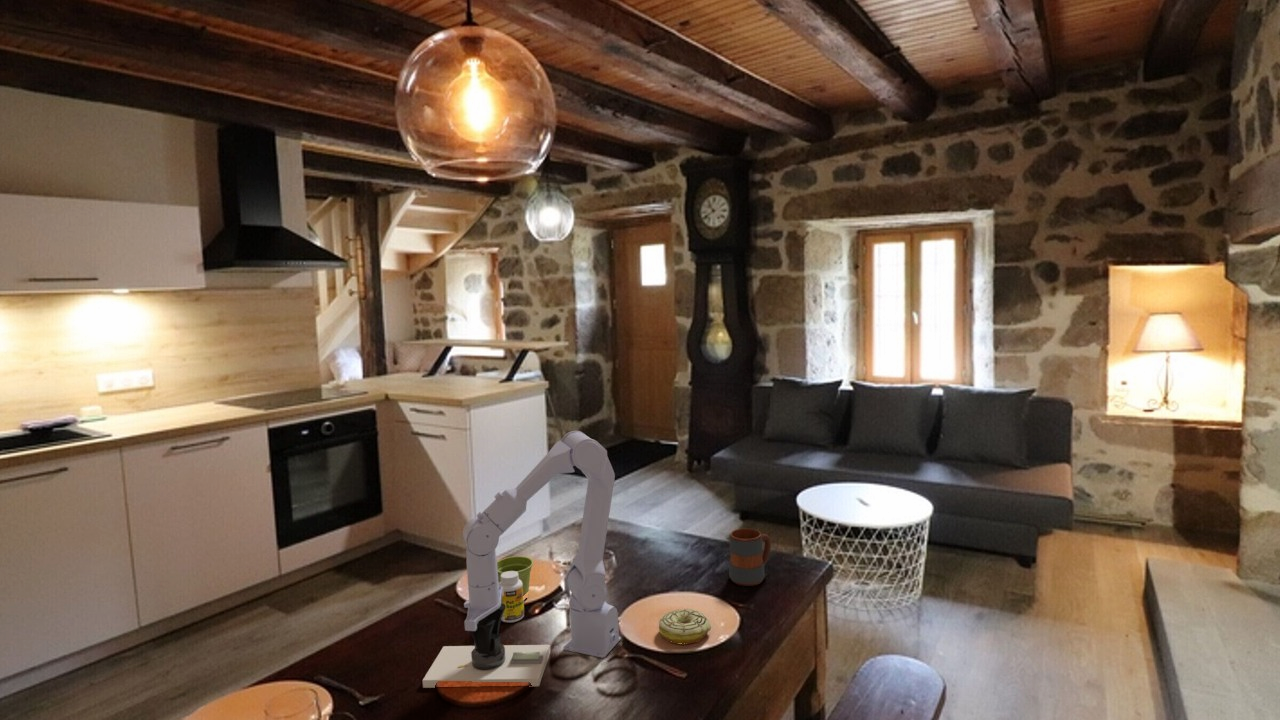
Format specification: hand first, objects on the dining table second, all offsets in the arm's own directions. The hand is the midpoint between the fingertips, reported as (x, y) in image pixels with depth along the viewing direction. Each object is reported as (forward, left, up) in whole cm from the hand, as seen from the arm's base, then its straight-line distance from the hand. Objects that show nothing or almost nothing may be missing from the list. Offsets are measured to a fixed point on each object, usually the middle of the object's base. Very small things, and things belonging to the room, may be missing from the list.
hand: (487, 647), depth 134 cm
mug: (-37, -57, -5) cm, 68 cm away
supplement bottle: (+8, -19, -5) cm, 21 cm away
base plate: (0, 0, -4) cm, 4 cm away
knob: (0, 0, -3) cm, 3 cm away
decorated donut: (-31, -26, -5) cm, 41 cm away
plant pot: (+13, -27, -5) cm, 30 cm away
